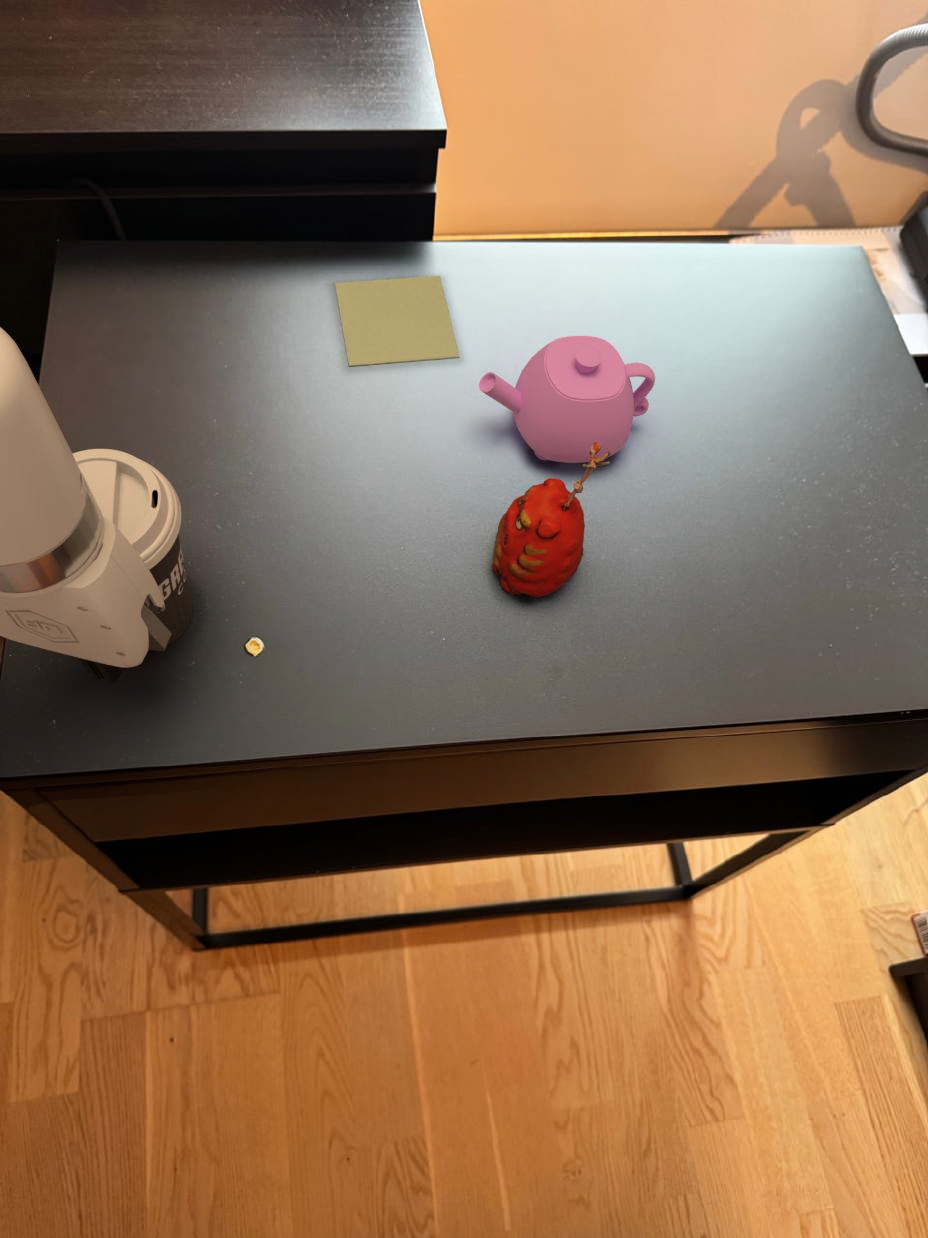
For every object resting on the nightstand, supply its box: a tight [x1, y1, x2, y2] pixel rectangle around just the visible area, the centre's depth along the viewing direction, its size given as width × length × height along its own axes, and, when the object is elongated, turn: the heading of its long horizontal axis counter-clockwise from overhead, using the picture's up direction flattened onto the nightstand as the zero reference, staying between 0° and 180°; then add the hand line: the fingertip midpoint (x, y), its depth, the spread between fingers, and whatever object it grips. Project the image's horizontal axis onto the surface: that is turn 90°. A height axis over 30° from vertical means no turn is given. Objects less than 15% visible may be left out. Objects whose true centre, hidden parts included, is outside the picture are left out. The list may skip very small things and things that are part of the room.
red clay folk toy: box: [491, 442, 611, 598], centre depth 66 cm, size 8×7×15 cm
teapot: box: [478, 335, 656, 464], centre depth 75 cm, size 10×15×9 cm
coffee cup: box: [72, 448, 194, 652], centre depth 62 cm, size 10×10×15 cm
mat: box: [334, 275, 460, 368], centre depth 83 cm, size 10×10×1 cm
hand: (113, 661), depth 63 cm, fingers closed
